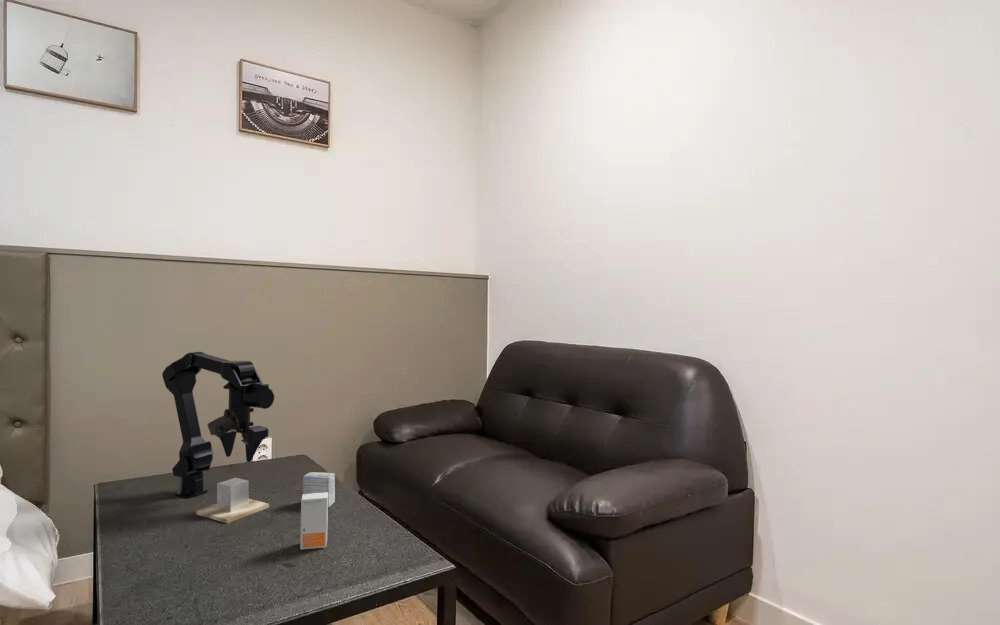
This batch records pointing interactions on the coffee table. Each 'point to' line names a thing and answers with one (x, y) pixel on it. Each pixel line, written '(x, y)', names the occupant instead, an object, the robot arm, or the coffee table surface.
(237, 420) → the robot arm
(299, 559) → the coffee table surface
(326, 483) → the medicine box
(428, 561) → the coffee table surface
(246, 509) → the post board
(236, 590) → the coffee table surface
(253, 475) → the coffee table surface
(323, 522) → the skincare box
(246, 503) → the grey block
